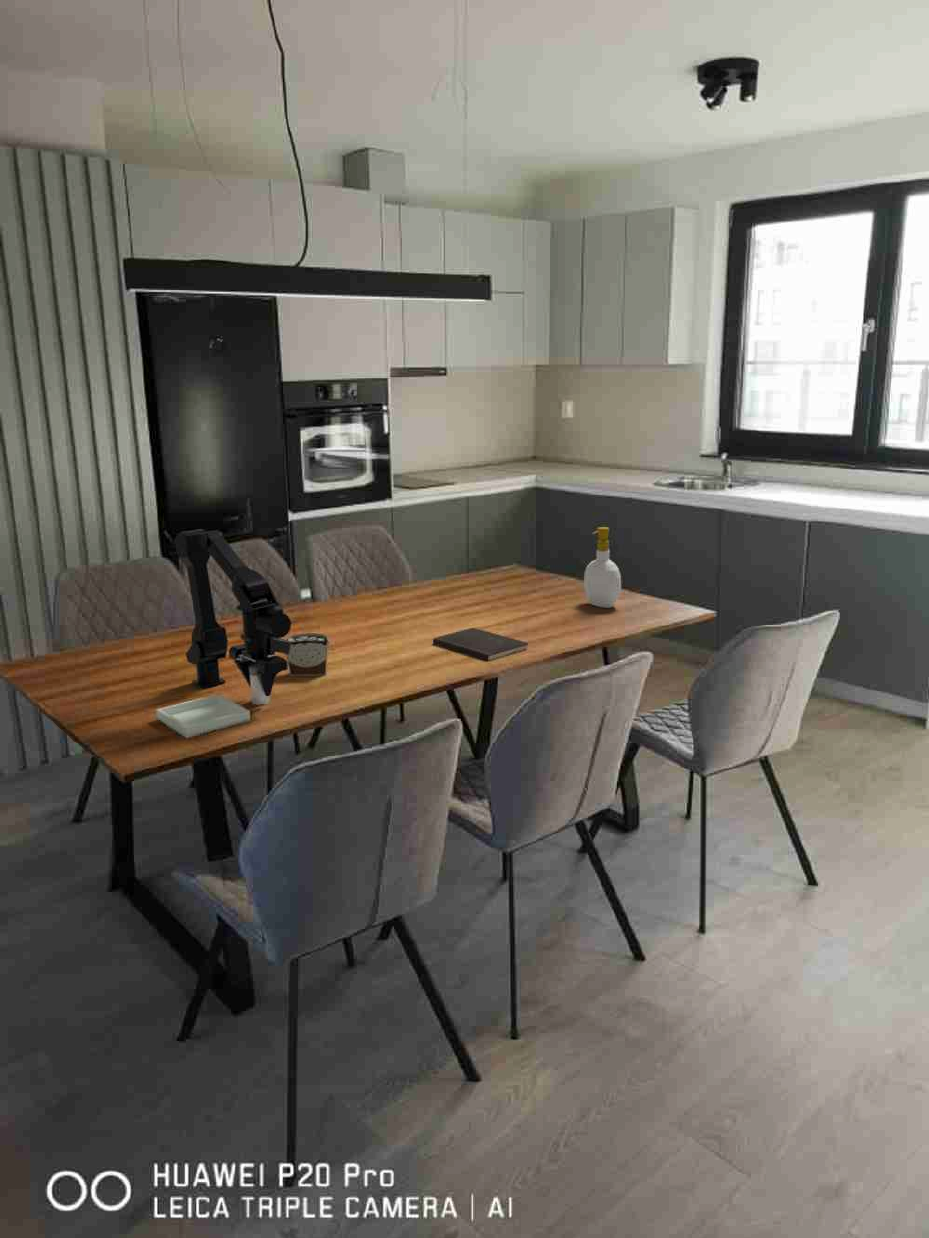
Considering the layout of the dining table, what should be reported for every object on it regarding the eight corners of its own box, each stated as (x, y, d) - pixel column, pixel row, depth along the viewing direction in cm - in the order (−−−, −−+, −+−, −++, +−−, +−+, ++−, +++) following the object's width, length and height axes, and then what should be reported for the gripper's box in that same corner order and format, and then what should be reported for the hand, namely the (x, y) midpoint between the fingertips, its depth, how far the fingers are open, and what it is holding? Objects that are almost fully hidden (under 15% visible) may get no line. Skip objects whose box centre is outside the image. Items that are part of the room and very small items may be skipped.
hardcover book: (473, 634, 290) (473, 627, 289) (528, 650, 273) (528, 643, 273) (432, 645, 279) (432, 638, 279) (487, 663, 263) (487, 655, 262)
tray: (157, 719, 224) (156, 709, 224) (219, 703, 234) (218, 693, 233) (186, 738, 213) (185, 727, 212) (250, 720, 222) (249, 710, 222)
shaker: (248, 701, 235) (245, 666, 233) (264, 697, 238) (262, 662, 236) (257, 706, 232) (254, 670, 229) (274, 701, 235) (271, 666, 232)
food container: (333, 667, 260) (331, 631, 257) (331, 674, 254) (329, 638, 251) (287, 668, 260) (285, 633, 257) (284, 676, 254) (282, 639, 251)
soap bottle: (575, 604, 321) (576, 526, 314) (594, 599, 326) (595, 523, 319) (608, 612, 310) (609, 532, 303) (626, 607, 315) (628, 528, 308)
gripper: (305, 631, 228) (309, 693, 232) (266, 616, 242) (270, 675, 246) (263, 640, 221) (268, 704, 225) (225, 624, 235) (230, 685, 239)
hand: (260, 691), depth 234 cm, fingers open, 7 cm apart
